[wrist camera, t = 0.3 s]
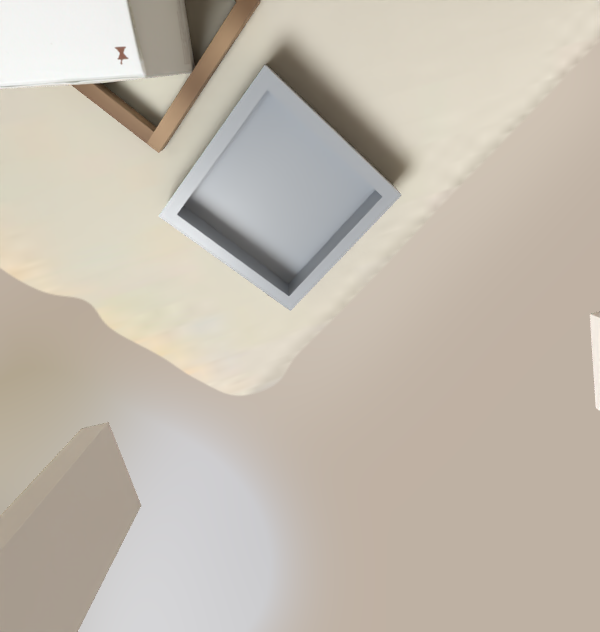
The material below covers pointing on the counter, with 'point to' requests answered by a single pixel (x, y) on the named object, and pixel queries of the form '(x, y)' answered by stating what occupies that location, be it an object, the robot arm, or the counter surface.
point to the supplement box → (91, 41)
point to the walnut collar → (190, 90)
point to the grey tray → (278, 193)
